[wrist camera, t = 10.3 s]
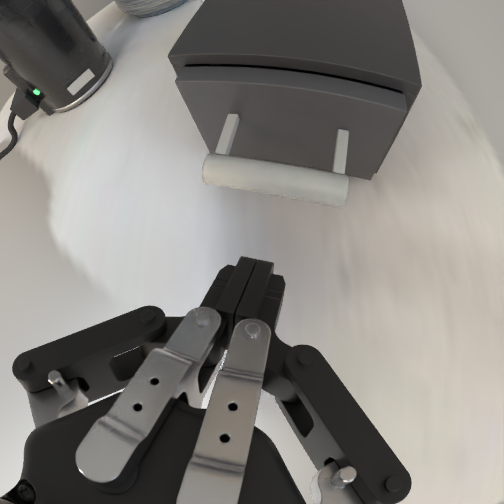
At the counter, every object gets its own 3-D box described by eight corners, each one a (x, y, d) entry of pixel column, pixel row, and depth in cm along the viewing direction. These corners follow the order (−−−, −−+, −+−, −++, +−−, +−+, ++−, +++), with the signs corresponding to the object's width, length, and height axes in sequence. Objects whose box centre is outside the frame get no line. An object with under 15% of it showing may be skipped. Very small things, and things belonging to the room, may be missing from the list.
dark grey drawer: (363, 241, 18) (408, 194, 10) (193, 208, 20) (141, 151, 12) (373, 57, 21) (387, -8, 13) (252, 40, 23) (240, -25, 15)
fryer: (376, 173, 20) (422, 86, 10) (210, 145, 22) (167, 55, 12) (377, 51, 22) (393, -24, 13) (252, 34, 24) (238, -41, 15)
